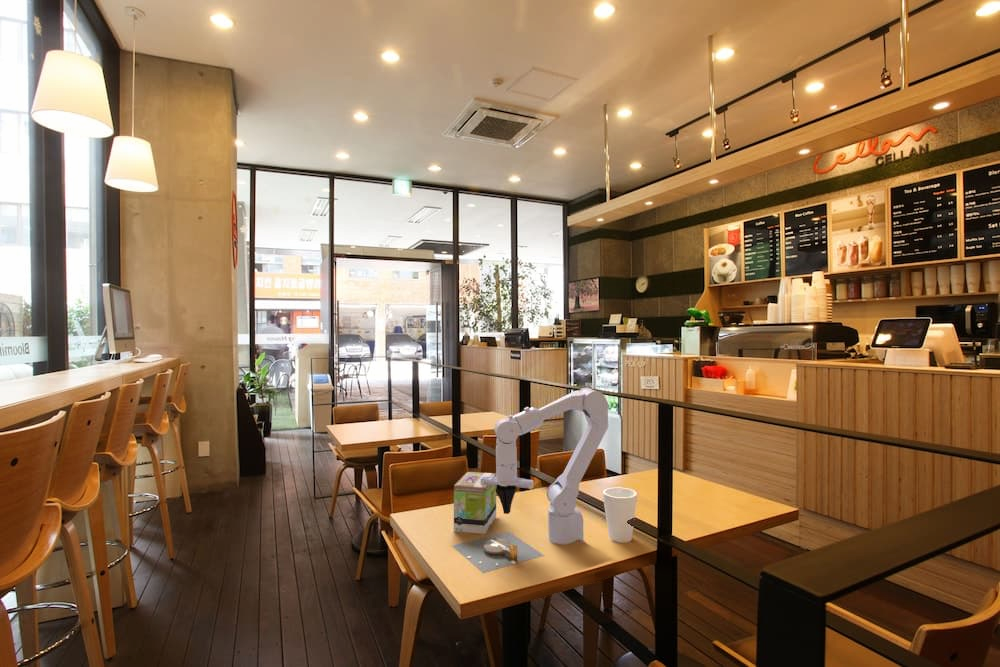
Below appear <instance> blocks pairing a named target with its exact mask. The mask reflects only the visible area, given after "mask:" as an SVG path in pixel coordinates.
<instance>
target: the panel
mask: <svg viewBox="0 0 1000 667" xmlns="http://www.w3.org/2000/svg"><path fill="white" fill-rule="evenodd" d="M493 538H502V539H506V540H508V541H509V542H510V546H511V545H515V546H517V560H510V559H509V558H508V557H507V556H505V555H491V554H488V553H486V552H485V551H484V542H485V541H487V540H489V539H493ZM451 546H452V547H453V548H454V549H455V550H456V551H457V552H459V553H460V554H461V556H463V557H464V558H465V559H467V560H468V561H469V563H471V564H472V565H473V566H474V567H476V568H477V569H478V570H479V571H480V572H481V573H482V574H485V573H488V572H492V571H494V570H496V571H497V570H499V569H502V568H506V567H509V566H513V565H516V564H519V563H520V564H521V563H522V562H523V563H524V562H526V561H530V560H533V559H534V560H535V559H536V558H541V557H544V556H545V554H543V553H542V552H540V551H539V550H537V549H536V548H534V547H532V546H531V545H529V544H528V543H527V542H525V541H523V540H522V539H520V538H519V537H517V536H516V535H514V534H513V533H511V532H510V531H505V532H501V533H498V534H494V535H490V536H485V537H481V538H477V539H473V540H468V541H465V542H461V543H457V544H452V545H451Z"/></svg>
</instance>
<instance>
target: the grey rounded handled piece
mask: <svg viewBox="0 0 1000 667" xmlns="http://www.w3.org/2000/svg"><path fill="white" fill-rule="evenodd" d="M484 551H485V552H486V553H488V554H491V555H505V556H507V557H508V558H509V559H510V560H517V546H515V545H511V546H510V542H509V541H508V540H506V539H502V538H493V539H489V540H487V541H485V542H484Z"/></svg>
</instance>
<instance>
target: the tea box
mask: <svg viewBox="0 0 1000 667" xmlns="http://www.w3.org/2000/svg"><path fill="white" fill-rule="evenodd" d="M482 477H496V472H494V473H492V472H477V471H476V472H475V471H467V472H466V473H465V474H464V475H462V477H461V478H460V479H459V480H458V481H457V482H456V483H455V484H454V485H453V532H456V533H471V534H484V535H485V534H486V533H487V531H488V530H489V528H490V527H491V525H492V523H493V521H494V520H495V519H496V518H497V493H496V487H497V486H493V485H484V486H482V485H481V478H482Z"/></svg>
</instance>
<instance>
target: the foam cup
mask: <svg viewBox="0 0 1000 667" xmlns="http://www.w3.org/2000/svg"><path fill="white" fill-rule="evenodd" d="M602 501H603V505H604V512H605V519H606V524H607V525H606V527H607V532H608V533H607V534H608V537H609V540H611V541H613V542H616V543H621V544H622V543H624V544H625V543H629V542H631V541H632V540H633V533H634V532H633V531H634V526H631V525H630V524H628V523H627V521H628V520H630V519H632V518H634V519H635V516H636V507H637V502H638V492H636V490H633V489H631V488H627V487H624V486H623V487H618V486H615V487H608V488H605V489H603V491H602Z"/></svg>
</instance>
